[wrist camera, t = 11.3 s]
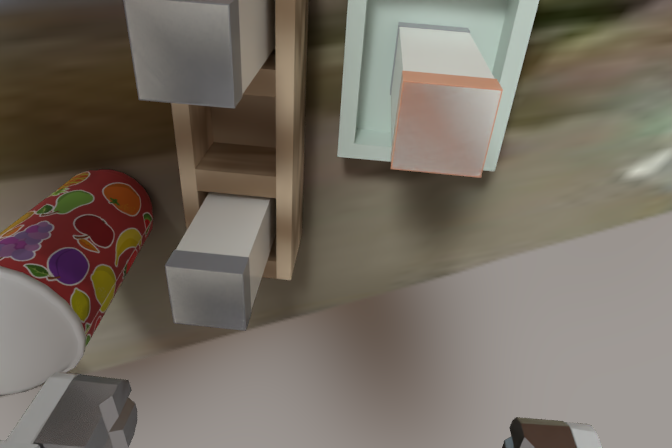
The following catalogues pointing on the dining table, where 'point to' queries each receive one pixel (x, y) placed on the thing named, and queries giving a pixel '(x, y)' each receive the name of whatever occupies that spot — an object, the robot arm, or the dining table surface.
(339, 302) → the dining table surface
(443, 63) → the block
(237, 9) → the block
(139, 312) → the dining table surface
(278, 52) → the socket strip
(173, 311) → the block
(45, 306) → the smoothie
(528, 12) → the tray
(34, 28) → the dining table surface
